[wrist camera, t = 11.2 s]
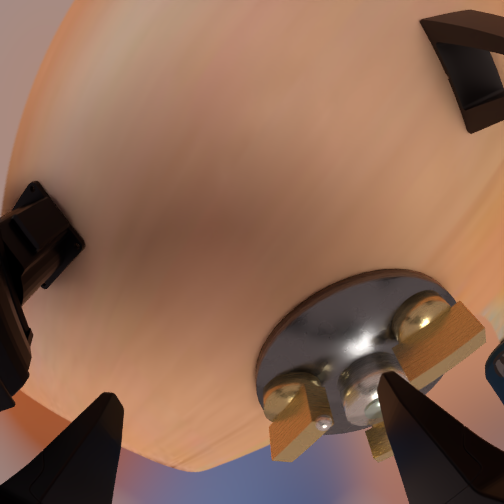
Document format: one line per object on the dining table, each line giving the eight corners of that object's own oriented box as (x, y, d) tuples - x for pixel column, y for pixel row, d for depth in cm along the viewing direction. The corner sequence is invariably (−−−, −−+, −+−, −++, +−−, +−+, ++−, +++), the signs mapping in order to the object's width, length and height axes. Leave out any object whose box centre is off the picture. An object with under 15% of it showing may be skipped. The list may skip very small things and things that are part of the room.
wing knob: (300, 414, 25) (309, 468, 19) (250, 406, 24) (253, 464, 19) (339, 367, 22) (359, 426, 17) (285, 355, 21) (295, 421, 16)
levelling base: (317, 441, 31) (326, 488, 24) (207, 354, 23) (199, 424, 17) (463, 359, 26) (491, 401, 20) (426, 219, 19) (485, 261, 13)
